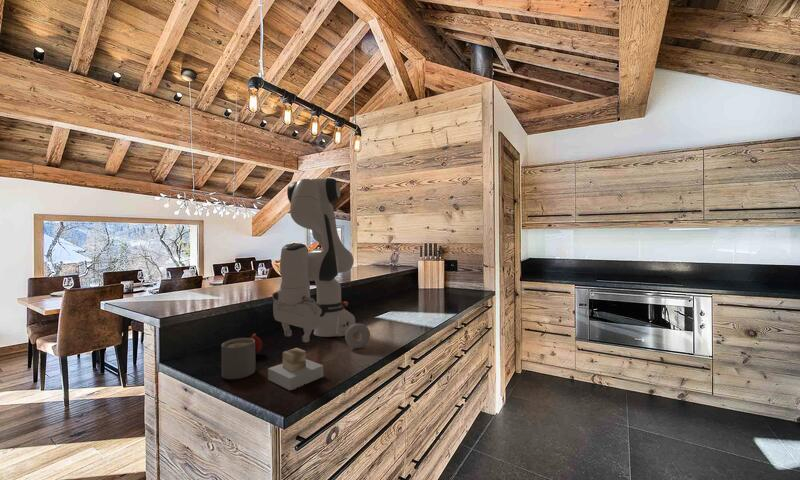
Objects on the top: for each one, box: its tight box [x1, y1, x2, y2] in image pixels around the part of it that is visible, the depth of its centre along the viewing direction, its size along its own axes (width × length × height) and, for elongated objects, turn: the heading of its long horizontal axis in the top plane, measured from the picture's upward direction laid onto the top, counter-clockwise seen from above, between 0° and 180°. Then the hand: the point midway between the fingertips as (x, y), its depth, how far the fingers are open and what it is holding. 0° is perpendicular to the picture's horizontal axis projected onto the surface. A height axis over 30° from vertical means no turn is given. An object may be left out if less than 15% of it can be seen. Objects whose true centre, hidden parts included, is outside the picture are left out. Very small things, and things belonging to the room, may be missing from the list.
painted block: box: [267, 358, 324, 391], centre depth 102 cm, size 12×12×4 cm
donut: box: [344, 322, 371, 349], centre depth 129 cm, size 10×4×10 cm, turn 102°
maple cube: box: [282, 347, 307, 372], centre depth 102 cm, size 5×5×5 cm
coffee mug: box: [220, 337, 256, 380], centre depth 109 cm, size 13×10×10 cm
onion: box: [250, 333, 263, 356], centre depth 123 cm, size 6×6×8 cm
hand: (296, 338), depth 103 cm, fingers open, 8 cm apart
